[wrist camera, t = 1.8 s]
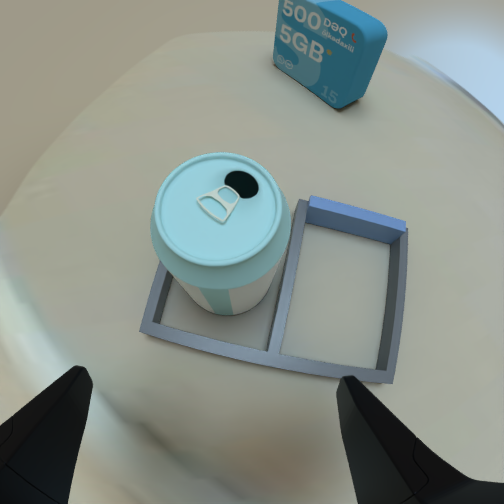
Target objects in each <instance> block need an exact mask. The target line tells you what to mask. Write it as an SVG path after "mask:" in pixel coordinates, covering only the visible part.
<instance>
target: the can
mask: <svg viewBox="0 0 504 504" xmlns="http://www.w3.org/2000/svg"><path fill="white" fill-rule="evenodd" d="M150 229H151V238H152V243H153V246H154V249H155V251H156V254H157V256H158V257H159V259H160V261H161V262H162V263H163V265H164V266H165V267H166V268H167V270H168V271H169V272H170V273H171V274H172V276H173V277H174V278H175V279H176V280H177V281H178V283H179V284H180V285H181V286H182V287H183V288H184V290H185V291H186V292H187V293H188V294H189V295H190V296H191V298H192V299H193V300H194V301H195V302H196V303H197V304H198V305H199V306H201V307H202V308H204V309H205V310H207V311H209V312H212V313H215V314H219V315H236V314H240V313H243V312H246V311H248V310H250V309H251V308H253V307H254V306H256V305H257V304H258V303H259V302H260V301H261V300H262V299H263V298H264V296H265V295H266V293H267V291H268V289H269V287H270V284H271V282H272V280H273V277H274V275H275V273H276V270H277V268H278V266H279V263H280V261H281V258H282V256H283V254H284V251H285V249H286V246H287V244H288V241H289V237H290V231H291V216H290V211H289V207H288V204H287V201H286V199H285V197H284V195H283V193H282V191H281V190H280V188H279V187H278V185H277V183H276V181H275V180H274V178H273V177H272V176H271V174H270V173H269V172H268V171H267V170H266V169H265V168H264V167H262V166H261V165H260V164H258V163H257V162H255V161H254V160H252V159H250V158H247V157H245V156H242V155H238V154H234V153H226V152H216V153H208V154H203V155H200V156H197V157H194V158H192V159H189V160H188V161H186V162H184V163H182V164H181V165H179V166H178V167H177V168H176V169H174V170H173V171H172V172H171V173H170V174H169V175H168V176H167V178H166V179H165V180H164V182H163V183H162V185H161V187H160V189H159V191H158V194H157V197H156V200H155V205H154V208H153V212H152V216H151V228H150Z"/></svg>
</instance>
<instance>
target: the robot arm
mask: <svg viewBox="0 0 504 504" xmlns="http://www.w3.org/2000/svg"><path fill="white" fill-rule="evenodd" d="M92 388H93V382H92V379H91V377H90V375H89V373H88V371H87V369H86V368H85V367H83V366H78V365H76V366H73V367H72V368H71V369H70V370H68V371H67V372H66V373H65V374H63V375H62V376H61V377H60V378H58V379H57V380H56V381H55V382H53V383H52V384H51V385H50V386H48V387H47V388H46V389H45V390H43V391H42V392H41V393H40V394H38V395H37V396H36V397H35V398H33V399H32V400H31V401H30V402H29V403H27V404H26V405H25V406H24V407H22V408H21V409H20V410H19V411H18V412H16V413H15V414H14V415H13V416H11V417H10V418H9V419H8V420H6V421H5V422H4V423H3V424H1V425H0V504H68V499H69V494H70V489H71V484H72V479H73V474H74V469H75V465H76V461H77V456H78V452H79V448H80V444H81V440H82V437H83V433H84V429H85V425H86V421H87V416H88V411H89V405H90V399H91V394H92ZM336 397H337V404H338V412H339V420H340V428H341V434H342V439H343V443H344V447H345V451H346V455H347V459H348V463H349V467H350V472H351V476H352V480H353V485H354V489H355V493H356V498H357V502H358V504H504V483H498V482H487V481H479V480H474V479H471V478H469V477H467V476H465V475H464V474H462V473H461V472H459V471H458V470H457V469H455V468H454V467H452V466H451V465H450V464H448V463H447V462H446V461H444V460H443V459H442V458H440V457H439V456H438V455H437V454H435V453H434V452H433V451H432V450H431V449H429V448H428V447H427V446H426V445H425V444H424V443H423V442H422V441H421V440H420V439H419V438H418V437H417V438H416V436H415V435H414V434H413V433H412V432H411V431H410V430H409V429H408V428H407V427H406V426H405V425H404V424H403V423H402V422H401V421H400V420H399V419H398V418H397V417H396V416H395V415H394V414H393V413H392V412H391V411H390V410H389V409H388V408H387V407H386V406H385V405H384V404H383V403H382V402H381V401H380V400H379V399H378V398H377V397H376V396H374V395H373V394H372V393H371V392H370V391H369V390H368V389H367V388H366V387H365V386H364V385H363V384H362V383H361V382H360V381H359V380H358V379H357V378H356V377H355V376H354V375H347V376H343V377H342V378H341V380H340V383H339V386H338V388H337V392H336Z"/></svg>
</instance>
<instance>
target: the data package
mask: <svg viewBox="0 0 504 504" xmlns="http://www.w3.org/2000/svg"><path fill="white" fill-rule="evenodd" d="M386 40H387V30H386V27H385V26H384V25H383V23H382V22H380V21H379V20H377V19H376V18H374V17H372V16H371V15H369V14H367V13H365V12H363V11H361V10H359V9H357V8H355V7H354V6H352V5H350V4H348V3H346V2H343V1H341V0H279V5H278V15H277V24H276V33H275V42H274V51H273V59H274V62H275V64H276V66H277V67H278V68H279V69H280V70H282V71H283V72H285V73H286V74H288V75H289V76H291V77H292V78H294V79H295V80H296V81H298V82H299V83H301V84H302V85H303V86H305V87H306V88H308V89H309V90H310V91H312V92H313V93H314V94H316V95H317V96H318V97H320V98H321V99H322V100H324V101H325V102H326V103H328V104H329V105H330V106H332V107H334V108H342V107H344V106H346V105H348V104H350V103H351V102H353V101H355V100H357V99H359V98H361V97H363V96H364V94H365V92H366V89H367V87H368V84H369V82H370V80H371V77H372V75H373V72H374V70H375V67H376V65H377V63H378V60H379V58H380V55H381V53H382V50H383V48H384V45H385V43H386Z"/></svg>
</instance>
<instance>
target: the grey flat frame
mask: <svg viewBox="0 0 504 504" xmlns="http://www.w3.org/2000/svg"><path fill="white" fill-rule="evenodd" d="M305 222H306V223H310V224H314V225H318V226H322V227H326V228H330V229H334V230H338V231H342V232H346V233H350V234H354V235H358V236H362V237H366V238H369V239H373V240H377V241H381V242H384V243H388V244H391V248H390V264H389V278H388V289H387V299H386V307H385V316H384V323H383V330H382V337H381V344H380V350H379V356H378V361H377V367H376V370H374V369H366V368H358V367H351V366H344V365H338V364H331V363H325V362H319V361H313V360H307V359H302V358H296V357H291V356H286V355H281V354H279V352H280V347H281V342H282V338H283V333H284V329H285V324H286V319H287V314H288V310H289V305H290V300H291V295H292V290H293V285H294V280H295V274H296V269H297V264H298V258H299V253H300V247H301V242H302V236H303V230H304V225H305ZM407 253H408V228H406V221H403V220H399V219H396V218H393V217H389V216H386V215H382V214H379V213H376V212H372V211H369V210H365V209H361V208H358V207H354V206H350V205H347V204H343V203H339V202H335V201H332V200H328V199H324V198H320V197H316V196H312V195H311V196H310V199H309V201H306V200H301V199H299V201H298V203H297V206H296V209H295V214H294V219H293V224H292V229H291V235H290V240H289V245H288V250H287V255H286V260H285V265H284V270H283V275H282V280H281V284H280V289H279V294H278V299H277V303H276V308H275V313H274V317H273V322H272V326H271V331H270V335H269V340H268V344H267V348H266V351H261V350H257V349H252V348H248V347H243V346H239V345H235V344H231V343H227V342H223V341H219V340H215V339H211V338H207V337H203V336H199V335H196V334H192V333H188V332H185V331H181V330H178V329H174V328H171V327H167V326H164V325H161V324H159V323H160V320H161V316H162V312H163V309H164V305H165V302H166V298H167V295H168V291H169V288H170V284H171V281H172V278H173V276H172V274H171V273H170V272H169V271H168V270H167V268H166V267H165V266H164V265H163V263H162V262H161V261H160V262H159V265H158V268H157V271H156V275H155V278H154V281H153V284H152V288H151V291H150V295H149V298H148V301H147V305H146V308H145V312H144V316H143V319H142V323H141V327H140V330H139V332H142V333H145V334H148V335H151V336H154V337H158V338H161V339H164V340H167V341H171V342H174V343H177V344H181V345H184V346H188V347H191V348H195V349H199V350H203V351H206V352H210V353H214V354H218V355H222V356H226V357H230V358H234V359H239V360H243V361H247V362H252V363H256V364H261V365H266V366H271V367H276V368H281V369H286V370H292V371H297V372H303V373H309V374H315V375H321V376H328V377H335V378H342V377H343V376H347V375H354V376H355V377H356V378H357V379H358V380H359V381H367V382H376V383H387V384H393V379H394V374H395V368H396V362H397V357H398V350H399V344H400V337H401V329H402V321H403V312H404V302H405V290H406V275H407Z"/></svg>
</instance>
